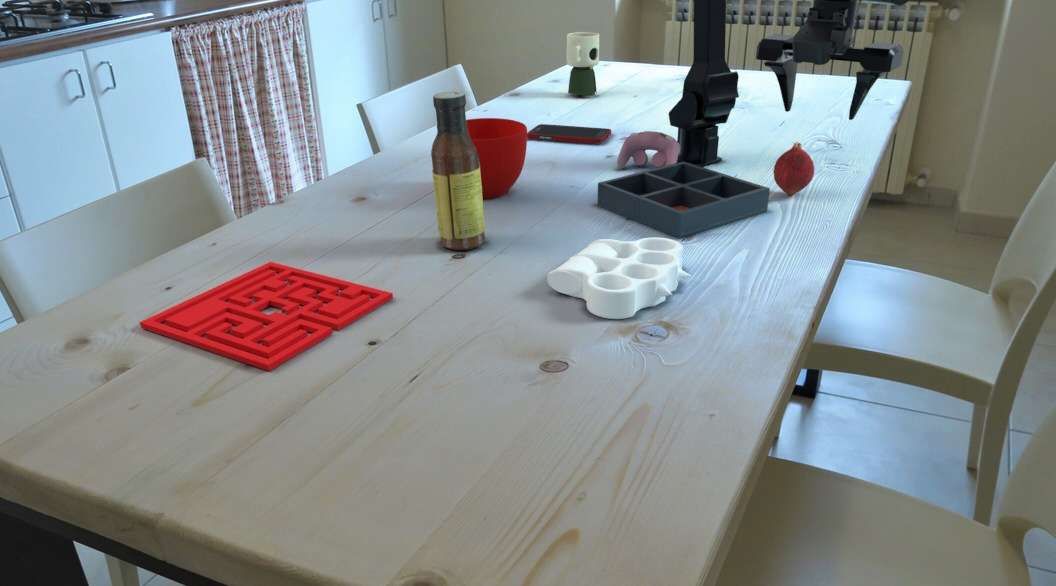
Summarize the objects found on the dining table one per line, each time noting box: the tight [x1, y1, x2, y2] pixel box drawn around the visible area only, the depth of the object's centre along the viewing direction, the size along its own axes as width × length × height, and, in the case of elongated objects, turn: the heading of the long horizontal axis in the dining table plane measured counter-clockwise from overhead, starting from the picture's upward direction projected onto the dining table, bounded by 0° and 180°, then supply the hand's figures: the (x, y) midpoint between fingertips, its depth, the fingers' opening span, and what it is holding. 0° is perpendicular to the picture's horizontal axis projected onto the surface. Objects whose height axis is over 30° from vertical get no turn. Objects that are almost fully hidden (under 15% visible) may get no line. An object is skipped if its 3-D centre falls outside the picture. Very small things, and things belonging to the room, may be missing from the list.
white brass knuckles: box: [546, 237, 692, 320], centre depth 105 cm, size 3×18×15 cm
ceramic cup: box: [466, 117, 528, 199], centre depth 135 cm, size 13×17×10 cm
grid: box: [596, 161, 771, 239], centre depth 129 cm, size 17×17×4 cm
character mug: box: [566, 31, 600, 98], centre depth 194 cm, size 11×7×13 cm, turn 159°
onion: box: [773, 141, 815, 196], centre depth 132 cm, size 6×6×8 cm
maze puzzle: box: [139, 261, 394, 372], centre depth 101 cm, size 20×20×1 cm
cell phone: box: [527, 123, 612, 145], centre depth 166 cm, size 8×15×1 cm, turn 69°
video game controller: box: [616, 130, 680, 170], centre depth 147 cm, size 10×5×7 cm, turn 65°
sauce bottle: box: [430, 90, 486, 251], centre depth 115 cm, size 7×6×20 cm
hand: (818, 115), depth 127 cm, fingers open, 9 cm apart
